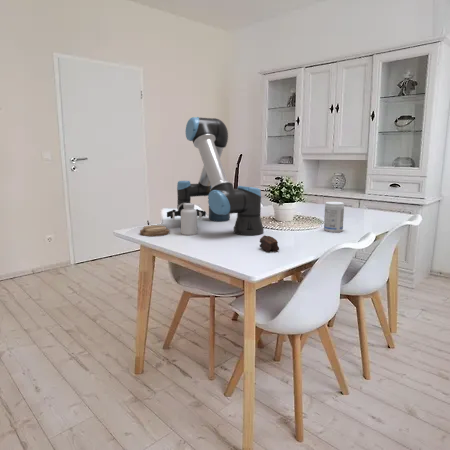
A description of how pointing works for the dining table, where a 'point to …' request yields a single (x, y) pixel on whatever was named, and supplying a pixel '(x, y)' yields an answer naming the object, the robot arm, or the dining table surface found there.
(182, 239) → the dining table surface
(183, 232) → the pill bottle
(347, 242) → the dining table surface
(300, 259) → the dining table surface
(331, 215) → the supplement tub
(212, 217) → the canister
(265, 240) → the brown notched block
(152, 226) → the brown rope coil
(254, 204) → the robot arm
